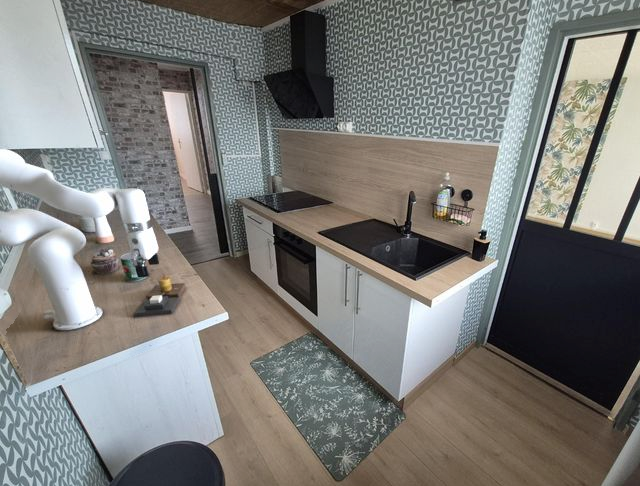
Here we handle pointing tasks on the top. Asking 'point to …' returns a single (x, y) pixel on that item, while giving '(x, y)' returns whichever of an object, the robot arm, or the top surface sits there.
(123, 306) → the top surface
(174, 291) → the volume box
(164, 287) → the yellow rounded cylinder
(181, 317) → the top surface
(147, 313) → the dark gray stepped base
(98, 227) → the salt shaker
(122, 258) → the canned tomato
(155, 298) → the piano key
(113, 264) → the cupcake
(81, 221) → the jar
